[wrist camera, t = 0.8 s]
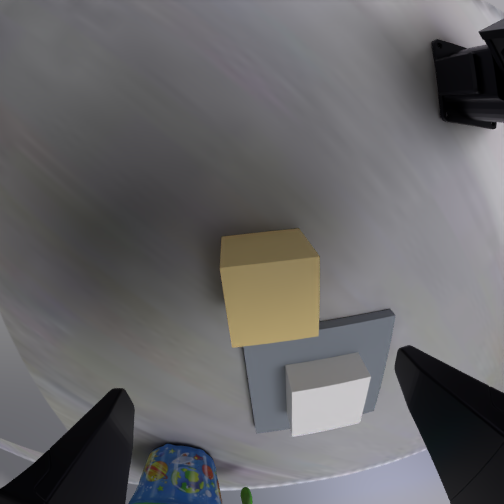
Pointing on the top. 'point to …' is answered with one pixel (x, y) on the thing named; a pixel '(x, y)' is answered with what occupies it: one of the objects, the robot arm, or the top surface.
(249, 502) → the snack cup
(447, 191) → the top surface
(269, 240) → the ochre brick
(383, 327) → the baseplate
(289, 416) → the white brick
